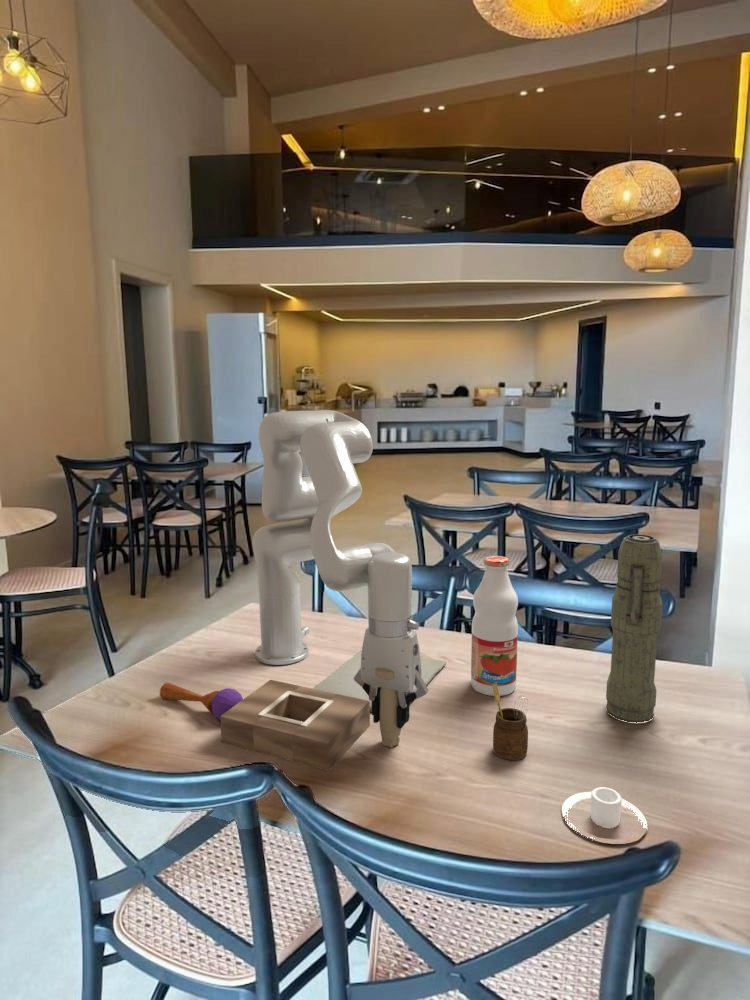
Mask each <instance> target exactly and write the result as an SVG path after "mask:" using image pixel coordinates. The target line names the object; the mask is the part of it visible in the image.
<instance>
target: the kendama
mask: <svg viewBox="0 0 750 1000" xmlns="http://www.w3.org/2000/svg"><path fill="white" fill-rule="evenodd" d="M159 696H160V698H161V699H162V700H173V701H185V702H186V701H187V702H199V703H201V704H203V705H204V707H205V708H206V710H207V711H208V712H210V713H212V714H213V715H214V716H215V717H216V718H217V719H218V720H220V721H221V719H220V716H221V715H223V714H224V713H225V712H227V711H228V710H230V709H231V708H232V707H234V706H235V705H236V704H238V703H239V702H240V701H242V700H243V699H244V698H243V696H242V694H241V693H240V692H239V691H238V690H236V689H234V688H231V687H230V688H223V689H220V690H214V691H212V692H209V693H206V694H204V695H201V694H199V693H196V692H194V691H191V690H189V689H186V688H183V687H181V686H178V685H177V684H173V683H170V682H165V683H163V684H162V686H161V687H160V689H159Z"/></svg>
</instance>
